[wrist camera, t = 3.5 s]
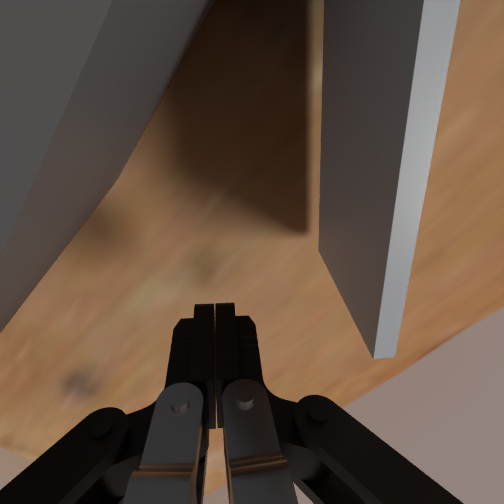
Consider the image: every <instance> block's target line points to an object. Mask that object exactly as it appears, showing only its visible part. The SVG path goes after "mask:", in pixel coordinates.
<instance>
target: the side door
mask: <svg viewBox="0 0 504 504" xmlns="http://www.w3.org/2000/svg"><path fill="white" fill-rule="evenodd" d="M459 6H460V0H324V31H323V74H322V117H321V160H320V203H319V246H318V251H319V253H320V255H321V256H322V258H323V260H324V262H325V264H326V266H327V268H328V270H329V272H330V274H331V276H332V278H333V280H334V282H335V284H336V286H337V288H338V290H339V292H340V294H341V296H342V298H343V300H344V302H345V304H346V306H347V308H348V310H349V312H350V314H351V316H352V318H353V320H354V322H355V324H356V326H357V328H358V330H359V332H360V334H361V336H362V338H363V340H364V342H365V344H366V346H367V348H368V350H369V352H370V354H371V356H372V357H373V359H380V358H388V357H395V353H396V348H397V343H398V337H399V332H400V326H401V321H402V315H403V310H404V305H405V299H406V294H407V288H408V283H409V277H410V272H411V267H412V261H413V256H414V250H415V245H416V239H417V234H418V229H419V223H420V218H421V212H422V207H423V201H424V196H425V191H426V185H427V180H428V174H429V169H430V163H431V158H432V153H433V147H434V142H435V136H436V131H437V125H438V120H439V115H440V109H441V104H442V98H443V93H444V87H445V82H446V77H447V71H448V66H449V60H450V55H451V49H452V44H453V39H454V33H455V28H456V22H457V17H458V11H459Z"/></svg>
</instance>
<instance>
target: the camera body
mask: <svg viewBox="0 0 504 504" xmlns="http://www.w3.org/2000/svg"><path fill="white" fill-rule="evenodd" d="M214 2H215V0H0V333H1V332H2V330H3V329H4V328H5V326H6V325H7V324H8V322H9V321H10V320H11V318H12V317H13V316H14V314H15V313H16V312H17V311H18V309H19V308H20V307H21V305H22V304H23V303H24V301H25V300H26V299H27V297H28V296H29V295H30V293H31V292H32V291H33V290H34V288H35V287H36V286H37V284H38V283H39V282H40V280H41V279H42V278H43V276H44V275H45V274H46V273H47V271H48V270H49V269H50V267H51V266H52V265H53V263H54V262H55V261H56V259H57V258H58V257H59V255H60V254H61V253H62V252H63V250H64V249H65V248H66V246H67V245H68V244H69V242H70V241H71V240H72V238H73V237H74V236H75V234H76V233H77V232H78V231H79V229H80V228H81V227H82V225H83V224H84V223H85V221H86V220H87V219H88V217H89V216H90V215H91V213H92V212H93V211H94V210H95V208H96V207H97V206H98V204H99V203H100V202H101V200H102V199H103V198H104V196H105V195H106V194H107V193H108V191H109V190H110V189H111V187H112V186H113V185H114V183H115V182H116V181H117V179H118V177H119V175H120V174H121V172H122V170H123V168H124V166H125V164H126V163H127V161H128V159H129V157H130V155H131V153H132V152H133V150H134V148H135V146H136V144H137V143H138V141H139V139H140V137H141V135H142V133H143V132H144V130H145V128H146V126H147V124H148V122H149V121H150V119H151V117H152V115H153V113H154V112H155V110H156V108H157V106H158V104H159V102H160V101H161V99H162V97H163V95H164V93H165V91H166V90H167V88H168V86H169V84H170V82H171V80H172V79H173V77H174V75H175V73H176V71H177V70H178V68H179V66H180V64H181V62H182V60H183V59H184V57H185V55H186V53H187V51H188V49H189V48H190V46H191V44H192V42H193V40H194V39H195V37H196V35H197V33H198V31H199V29H200V28H201V26H202V24H203V22H204V20H205V18H206V17H207V15H208V13H209V11H210V9H211V7H212V6H213V4H214Z"/></svg>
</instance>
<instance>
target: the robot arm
mask: <svg viewBox="0 0 504 504" xmlns="http://www.w3.org/2000/svg"><path fill="white" fill-rule="evenodd" d="M216 404H217V423H218V428H223V437H224V457H225V467H226V478H227V488H228V498H229V504H298V501H297V496H296V493H295V488H294V484H293V482H294V483H295V484H296V485H297V486H298V487H299V488H300V490H301V491H302V492H303V493H304V494H305V495H306V496H307V497H308V498H309V499H310V500H311V501H312V502H313V503H314V504H463V503H462V502H461V501H460V500H458V499H457V498H456V497H454V496H453V495H452V494H451V493H449V492H448V491H447V490H445V489H444V488H443V487H442V486H440V485H439V484H438V483H437V482H435V481H434V480H433V479H431V478H430V477H429V476H428V475H426V474H425V473H424V472H422V471H421V470H420V469H419V468H417V467H416V466H415V465H413V464H412V463H411V462H410V461H408V460H407V459H406V458H405V457H403V456H402V455H401V454H399V453H398V452H397V451H395V450H394V449H393V448H392V447H390V446H389V445H388V444H387V443H385V442H384V441H383V440H381V439H380V438H379V437H378V436H376V435H375V434H374V433H373V432H371V431H370V430H369V429H367V428H366V427H365V426H364V425H362V424H361V423H360V422H358V421H357V420H356V419H354V418H353V417H352V416H351V415H349V414H348V413H347V412H346V411H344V410H343V409H342V408H341V407H339V406H338V405H337V404H335V403H334V402H333V401H331V400H330V399H328V398H326V397H324V396H320V395H309V396H306V397H304V398H302V399H301V400H299V402H298V403H297V402H293V401H288V400H284V399H281V398H279V397H277V396H275V395H273V394H272V393H271V392H270V391H269V390H268V389H267V388H266V386H265V384H264V381H263V376H262V369H261V361H260V354H259V347H258V340H257V333H256V326H255V324H254V322H253V321H252V320H251V318H250V317H249V316H235V305H234V303H216V304H215V313H214V304H195V307H194V318H185V319H180V321H179V322H178V323H177V325H176V326H175V328H174V330H173V336H172V343H171V351H170V356H169V363H168V370H167V376H166V383H165V388H164V390H163V391H162V392H161V394H160V395H159V397H158V398H157V400H156V401H155V402H154V403H152V404H151V405H149V406H148V407H146V408H143V409H141V410H138V411H135V412H133V413H130V414H127V415H126V414H125V413H124V412H123V411H122V410H120V409H118V408H113V407H107V408H102V409H99V410H96V411H94V412H93V413H91V414H89V415H88V416H87V417H86V418H84V419H83V420H82V421H81V422H80V423H79V424H77V425H76V426H75V427H74V428H73V429H71V430H70V431H69V432H68V433H67V434H66V435H64V436H63V437H62V438H61V439H60V440H59V441H57V442H56V443H55V444H54V445H53V446H52V447H50V448H49V449H48V450H47V451H46V452H45V453H43V454H42V455H41V456H40V457H39V458H37V459H36V460H35V461H34V462H33V463H32V464H31V465H29V466H28V467H27V468H26V469H25V470H23V471H22V472H21V473H20V474H19V475H18V476H16V477H15V478H14V479H13V480H12V481H11V482H9V483H8V484H7V485H6V486H5V487H3V488H2V489H1V490H0V504H203V496H204V486H205V476H206V465H207V455H208V451H207V450H208V447H209V429H216Z"/></svg>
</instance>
